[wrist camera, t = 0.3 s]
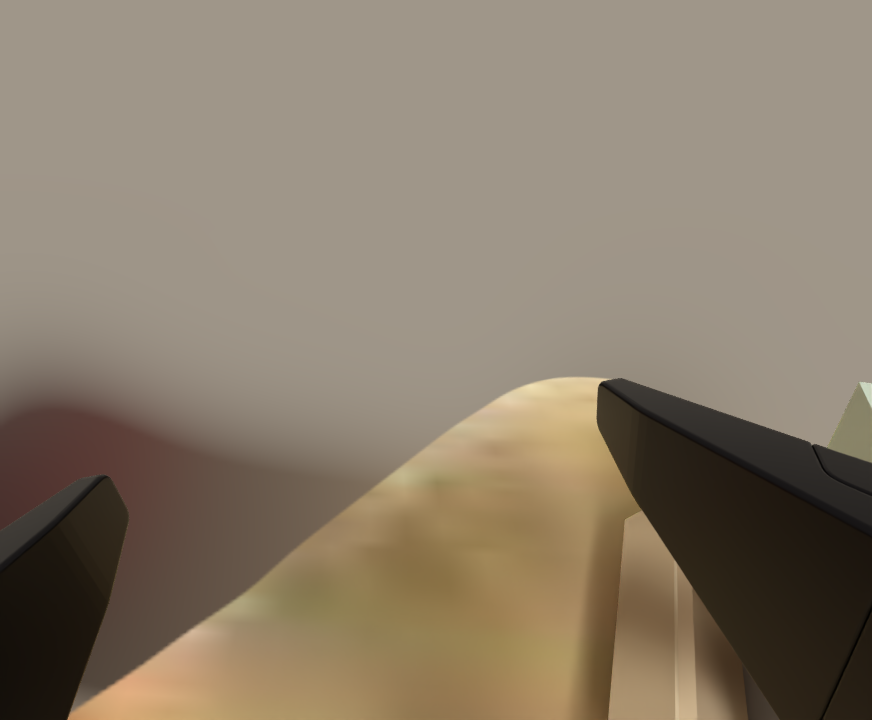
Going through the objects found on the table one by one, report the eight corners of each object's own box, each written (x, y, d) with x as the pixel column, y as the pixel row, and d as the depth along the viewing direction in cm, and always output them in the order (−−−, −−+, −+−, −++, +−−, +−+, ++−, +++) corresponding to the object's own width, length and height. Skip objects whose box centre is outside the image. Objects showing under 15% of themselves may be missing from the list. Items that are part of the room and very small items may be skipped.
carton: (1321, 1247, 10) (1589, 1302, 8) (588, 897, 15) (602, 859, 13) (984, 598, 21) (1049, 531, 19) (622, 517, 26) (633, 455, 24)
